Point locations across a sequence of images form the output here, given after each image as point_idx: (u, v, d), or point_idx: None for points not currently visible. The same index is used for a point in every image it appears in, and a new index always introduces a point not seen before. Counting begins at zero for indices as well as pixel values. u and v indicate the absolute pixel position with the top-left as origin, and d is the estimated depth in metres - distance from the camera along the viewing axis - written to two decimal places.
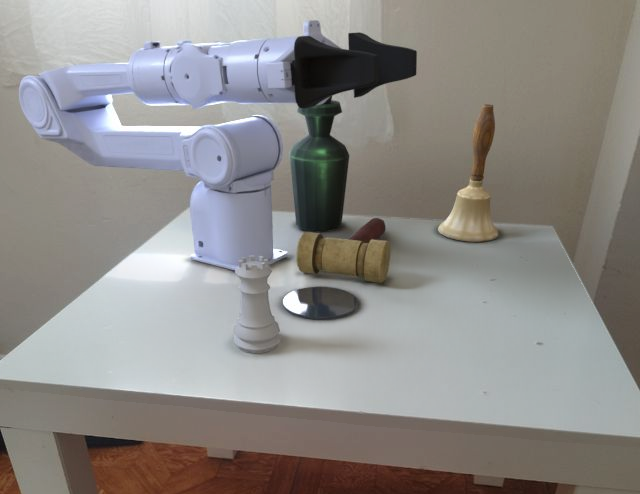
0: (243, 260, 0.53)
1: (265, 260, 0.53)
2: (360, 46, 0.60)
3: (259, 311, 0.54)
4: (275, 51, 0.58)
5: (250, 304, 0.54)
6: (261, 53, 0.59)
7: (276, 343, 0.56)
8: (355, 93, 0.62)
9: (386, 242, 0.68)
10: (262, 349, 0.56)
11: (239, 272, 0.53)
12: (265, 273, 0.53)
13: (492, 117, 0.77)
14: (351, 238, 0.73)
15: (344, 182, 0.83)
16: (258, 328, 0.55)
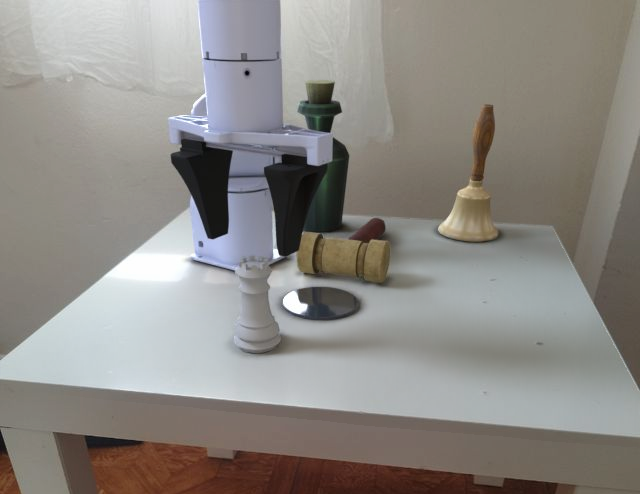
0: (243, 260, 0.53)
1: (265, 260, 0.53)
2: None
3: (259, 311, 0.54)
4: None
5: (250, 304, 0.54)
6: None
7: (276, 343, 0.56)
8: None
9: (386, 242, 0.68)
10: (262, 349, 0.56)
11: (239, 272, 0.53)
12: (265, 273, 0.53)
13: (492, 117, 0.77)
14: (351, 238, 0.73)
15: (344, 182, 0.83)
16: (258, 328, 0.55)
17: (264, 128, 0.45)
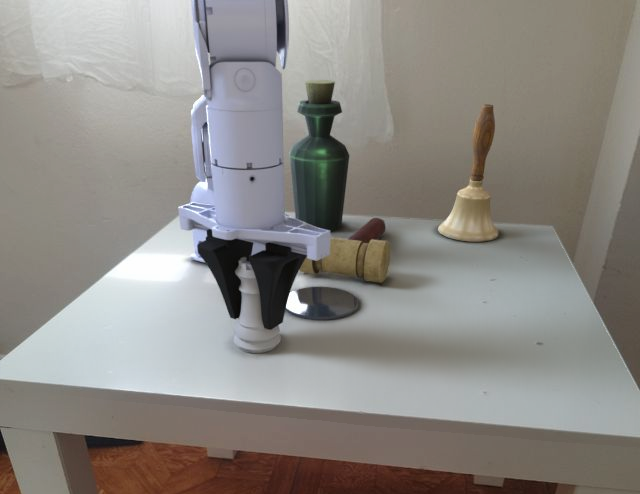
0: (243, 260, 0.53)
1: None
2: None
3: (259, 311, 0.54)
4: None
5: (250, 304, 0.54)
6: (211, 164, 0.48)
7: (276, 343, 0.56)
8: None
9: (386, 242, 0.68)
10: (262, 349, 0.56)
11: (239, 272, 0.53)
12: None
13: (492, 117, 0.77)
14: (351, 238, 0.73)
15: (344, 182, 0.83)
16: (258, 328, 0.55)
17: (267, 224, 0.49)
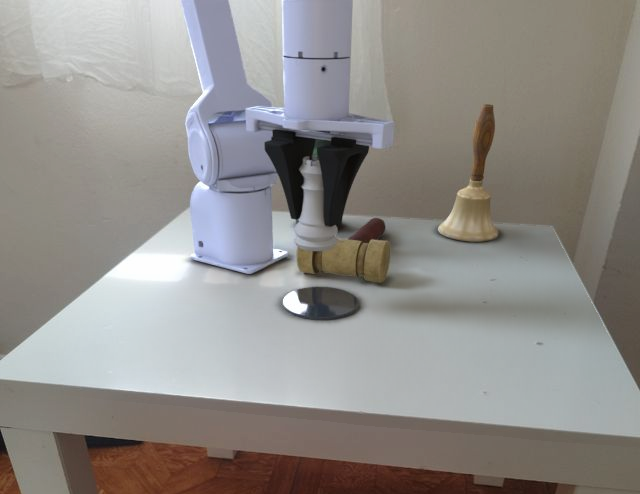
0: (306, 159, 0.57)
1: None
2: None
3: (320, 209, 0.58)
4: None
5: (312, 202, 0.57)
6: (283, 59, 0.52)
7: (334, 242, 0.60)
8: None
9: (386, 242, 0.68)
10: (322, 247, 0.59)
11: (303, 169, 0.56)
12: None
13: (492, 117, 0.77)
14: (351, 238, 0.73)
15: None
16: (319, 225, 0.58)
17: (335, 117, 0.52)
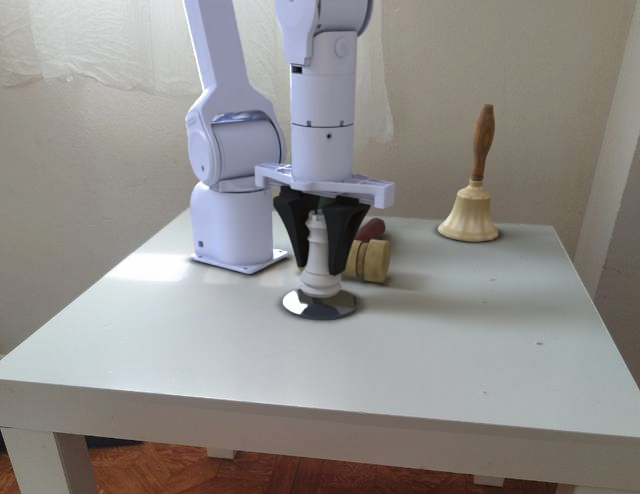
0: (312, 213, 0.60)
1: None
2: None
3: (325, 259, 0.61)
4: (291, 145, 0.56)
5: (317, 253, 0.61)
6: None
7: (338, 289, 0.63)
8: None
9: (386, 242, 0.68)
10: (327, 294, 0.62)
11: (309, 223, 0.59)
12: None
13: (492, 117, 0.77)
14: None
15: None
16: (324, 274, 0.62)
17: (339, 178, 0.56)
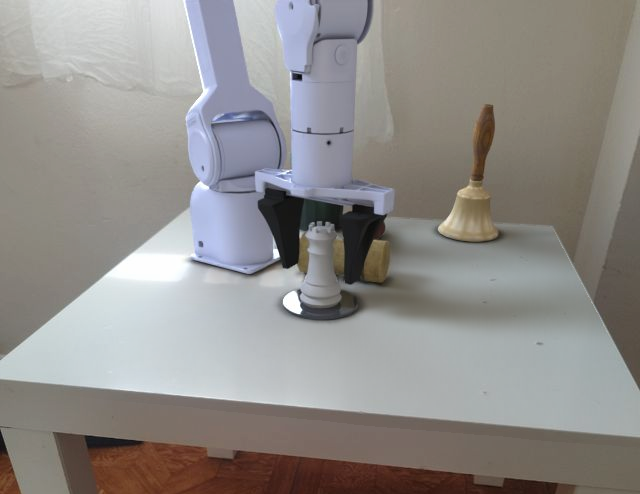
0: (312, 225, 0.61)
1: (332, 225, 0.61)
2: None
3: (325, 270, 0.62)
4: (291, 151, 0.56)
5: (317, 264, 0.62)
6: (291, 131, 0.55)
7: (338, 300, 0.64)
8: None
9: (386, 242, 0.68)
10: (327, 305, 0.63)
11: (309, 235, 0.60)
12: (332, 236, 0.60)
13: (492, 117, 0.77)
14: None
15: None
16: (324, 286, 0.62)
17: (339, 184, 0.56)
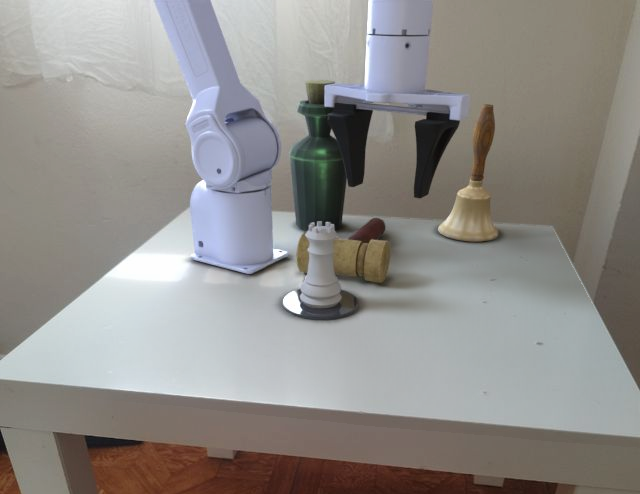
0: (312, 225, 0.61)
1: (332, 225, 0.61)
2: None
3: (325, 270, 0.62)
4: (366, 58, 0.57)
5: (317, 264, 0.62)
6: (367, 37, 0.56)
7: (338, 300, 0.64)
8: None
9: (386, 242, 0.68)
10: (327, 305, 0.63)
11: (309, 235, 0.60)
12: (332, 236, 0.60)
13: (492, 117, 0.77)
14: (351, 238, 0.73)
15: (344, 182, 0.83)
16: (324, 286, 0.62)
17: (414, 91, 0.56)
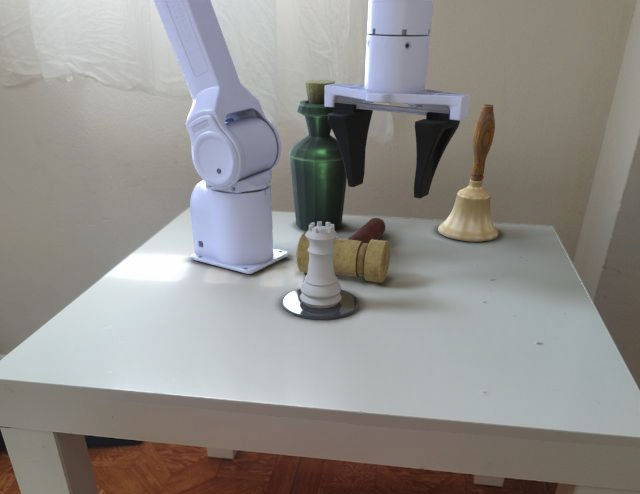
0: (312, 225, 0.61)
1: (332, 225, 0.61)
2: None
3: (325, 270, 0.62)
4: (366, 58, 0.57)
5: (317, 264, 0.62)
6: (367, 37, 0.56)
7: (338, 300, 0.64)
8: None
9: (386, 242, 0.68)
10: (327, 305, 0.63)
11: (309, 235, 0.60)
12: (332, 236, 0.60)
13: (492, 117, 0.77)
14: (351, 238, 0.73)
15: (344, 182, 0.83)
16: (324, 286, 0.62)
17: (414, 91, 0.56)
